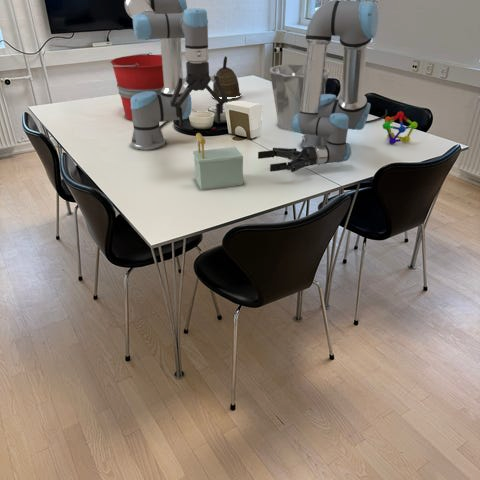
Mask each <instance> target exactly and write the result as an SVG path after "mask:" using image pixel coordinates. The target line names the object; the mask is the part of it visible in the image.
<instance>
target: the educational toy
mask: <svg viewBox="0 0 480 480" xmlns="http://www.w3.org/2000/svg"><path fill="white" fill-rule="evenodd" d="M397 119H399V124H400V125H399V127H398V126H393V125H391V124H392V123H394V122H395V121H396V120H397ZM403 120H404V121H405V122H407V123H408V124H409V125H407V126H404V123H403ZM417 127H418V122H417V121H411V120H410V119H409V118H408V117H406V116H405V113H404V112H403V111H401V110H400V111H398V112H397V114H396V115H394V116H391V117H390V116H385V117H384V122H383V123H382V129H383V130H386V132H387V138H388V142H389V145H395V144H396V143H397V142H402V141H403V142H404V143H409V142H410V140H411V138H410V136H411V134H412V132H413V131H414V130H415V129H417ZM392 129H393V130H397V131H398V132H396V134H395V133H394V132H392ZM408 129H409V131H408V133H407V134H406V135H404V136H401V134H403V133H405V132H406V130H408ZM399 135H400V136H399Z"/></svg>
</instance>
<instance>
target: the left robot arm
mask: <svg viewBox="0 0 480 480" xmlns="http://www.w3.org/2000/svg"><path fill="white" fill-rule="evenodd" d="M123 4H124V5H123V6H124V9H125V12H126V13H127V15H128V16H129V17H130V18H131V19H132V28H133V33H134V37H135V38H136V39H137V40H144V41H148V40H160V41H159V42H160V55H162V68H163V80H164V87H163V88H162V89H161V95H157V94H156V92H154V91H150V92H149V91H146V92H141V93H138V94H135V95H134V96H132V98H131V109H132V117H133V121H132V125H133V132H132V135H131V139H130V140H131V142H130V143H131V147H132V148H134V149H135V150H141V151H151V150H153V151H154V150H157V149H161V148H163V147H164V146H165V144H166V140H165V137H164V135H163V132H162V130H161V128H162V127H164V126H165V125H166V124H168V123H169V122H172V121H178V122H179V124H178V125H179V126H180V128H184V120H187V119H189V118H190V116H191V113H192V95H191V93H192V91H194V92H197V91H204V90H207V91H208V93H209V94H210V95H211V97H212V96H213V97H214V98H215V99H214V98H213V99H214V100H215V101H216V103H215V107H216V108H215V117H216V123H217V124H219V125H221V114H222V115H223V113H224V105H225V103H226V104H227V103H228V102H229V100H228V99H227V97H226V95H225V93H224V91H223V89H222V87H221V85H220V83H219V78H218V76H217V75H216V74H213V75H210V63H209V33H208V32H209V30H208V29H209V27H208V23H209V19H208V12H207V10H206V9H205V8H197V7H194V8H188V6H187V0H124V3H123ZM182 39H184V49H185V50H184V51H185V60H186V62H185V67H186V76H185V77H184V73H183V72H184V71H183V58H182V57H183V56H182ZM210 82H212V83H213V82H214V83H215V85H216V87H217V89H218V91H219V93H220V95H221V97H222V99H220V98H219V97H218V96H217V95H216V94H215V93H214V91H213V88H211V86H210V85H209V84H210ZM185 83H186V84H187V86H186V87H185V86H184V84H185ZM160 122H164V123H162V124H161V125H160Z"/></svg>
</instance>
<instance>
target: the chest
mask: <svg viewBox="0 0 480 480" xmlns="http://www.w3.org/2000/svg"><path fill="white" fill-rule="evenodd" d="M193 158H194V159H193V160H194V161H193V162H194V178H195V181H196V183H197V186H198V187H199V189H200V190H201V191H205V190H213V189H221V188H228V187H236V186H243V185H244V158H243V159H235V160H226V161H217V162H208V163H198V161H197V160H196V158H195V156H194V155H193Z"/></svg>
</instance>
